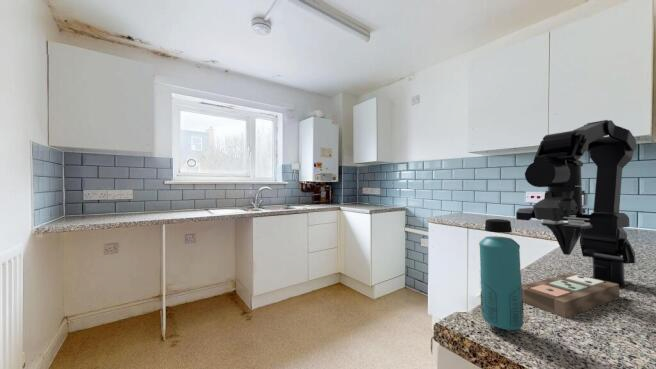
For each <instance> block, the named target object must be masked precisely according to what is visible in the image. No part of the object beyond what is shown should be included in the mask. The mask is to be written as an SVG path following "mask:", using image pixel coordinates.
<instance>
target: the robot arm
mask: <svg viewBox="0 0 656 369" xmlns="http://www.w3.org/2000/svg"><path fill="white" fill-rule="evenodd" d="M636 149H637V140H636V138H635V137H634V135H633V133H632V132H631V130H629V129H627V128H624V127H622V126H618V125H616V124H615V122H614V121H613V120H610V119H609V120H608V119H605V120H604V119H603V120H598V121H592V122H587V123H586V124H584V125H583V126H580V127H578V128H575V129H573V130H568V131H562V132H557V133H556V132H555V133H551V134H546V135H544V136H543V137H542V140H541V141H540V144H539V145H538V148H537V151H536V153H535V155H534V158H533V162H532V163H530V164H529V165H528V166H527V167H526V170H525V172H524V178H525V180H526V182H527V183H528V184H529V185H531V186H533V187H536V188H547V190H545V192H544V197H543V198H544V199H541V200H539V201H538V202H536V203H535V204H533V205H532V207H524V208H518V209H517V210H516V212H515V219H516V220H518V221H519V220H520V221H531V220H532V219H536V220H537V221H542V220H543V222H541V225H542V226H543V227H547V228H548V229H549V230H551V233H552V234H553V236H554V237H555V239H556V241H557V243H558V245H559V247H560V250H561V252H562V253H563V255H566V256H567V255H568V256H570V255H571V254H572V252H573V251H574V248H575V247H576V245H577V242H578V241H579V246H580V250H581V253H582V254H581V255H582V257H584V258H585V257H587V258H591V260H592V262H591V263H592V276H589V277H590V278H595V279H599V280H603V281H608V282H612V283H616V284H619V289H621V288H625V287H628V286H630V285H632V282H631V281H627V280H625V264H626V265H628V264H633V265H634V264H636V253H635V250H634V248H633V247H632V243H630V241H629V239H628V234H627V232H626V230H625V229H624V228H628V227H630V218H629V216H628V215H627V214H626V213H625V212H620V206H621V205H620V204H621V191H622V178H623V169H624V168H625V166H627V165H628V164H629V163H630V162H631V161H632V160H633V156H634V151H636ZM586 152H588V154H589V158H590V159H591V161H592V162H593V163H594V164H595V166H596V178H595V188H594V201H593V212H591V213H586V208H583V196H585V195H586V192H585V191H586V190H583V189H582V188H583V187H582V185H583V184H582V167H583V166H584V163H583V162H582V160H580V159H581V158H582V156H583V157H584V154H585V153H586ZM565 221H567V222H565Z"/></svg>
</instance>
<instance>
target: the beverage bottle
mask: <svg viewBox="0 0 656 369" xmlns="http://www.w3.org/2000/svg"><path fill="white" fill-rule="evenodd" d="M484 226H485V227H484V231H486V232H491V233H499V234H500V233H503V234H504V233H512V231H513V230H512V229H513V228H512V223H511V221H510V220H508V219H500V218H490V219H486V220H485V225H484ZM478 246H479V256H480V257H479V261H480V264H479V265H480V269H479V276H480V280H479V281H480V282H479V283H480V284H479V286H480V311H481V316H482V319H483V320H484V321H485V323H486V324H487V323H488V324H489V325H491V326H493V327H495V328H498V329H503V330H506V331H507V330H508V331H515V330H516V331H517V330H520V329H522V328H523V325H524V323H525V322H524V318H525V315H524V309H525V308H524V303H523V298H522V295H523V294H522V292H523V290H522V287H523V285H524V284H523V281H522V277H523V276H522V273H521V252H520V248H521V246H520V244H519V243H518V242H517V241H515V240H514V239H513V238H511V237H507V236H497V235H495V236H494V235H490V236H485V237H484V238H483V239H481V240H480V241H479V243H478Z"/></svg>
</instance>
